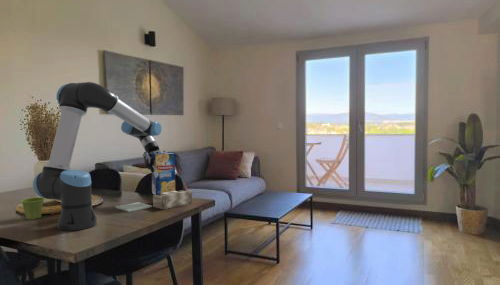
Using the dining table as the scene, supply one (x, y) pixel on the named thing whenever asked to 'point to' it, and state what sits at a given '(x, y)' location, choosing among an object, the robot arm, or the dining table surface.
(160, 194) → the offcut stack
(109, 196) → the dining table surface
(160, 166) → the blue food box
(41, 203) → the plant pot
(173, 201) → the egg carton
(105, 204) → the dining table surface
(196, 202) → the dining table surface
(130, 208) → the mat
